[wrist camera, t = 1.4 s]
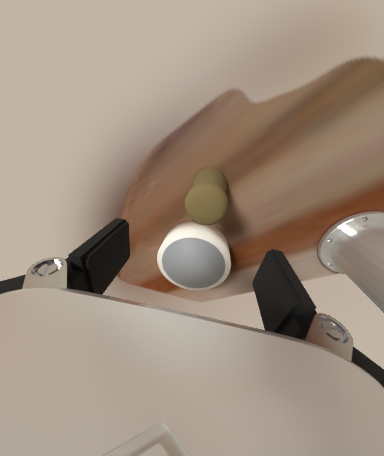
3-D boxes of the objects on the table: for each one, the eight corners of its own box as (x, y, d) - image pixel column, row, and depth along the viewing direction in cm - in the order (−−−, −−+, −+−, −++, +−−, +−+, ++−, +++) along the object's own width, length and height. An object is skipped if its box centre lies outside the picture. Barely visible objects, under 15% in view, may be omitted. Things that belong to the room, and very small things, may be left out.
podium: (237, 229, 30) (241, 243, 26) (220, 280, 37) (220, 297, 33) (166, 214, 31) (158, 225, 27) (162, 267, 38) (155, 283, 34)
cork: (234, 178, 26) (244, 199, 17) (215, 208, 29) (215, 241, 20) (201, 160, 26) (192, 171, 16) (186, 193, 29) (170, 218, 19)
